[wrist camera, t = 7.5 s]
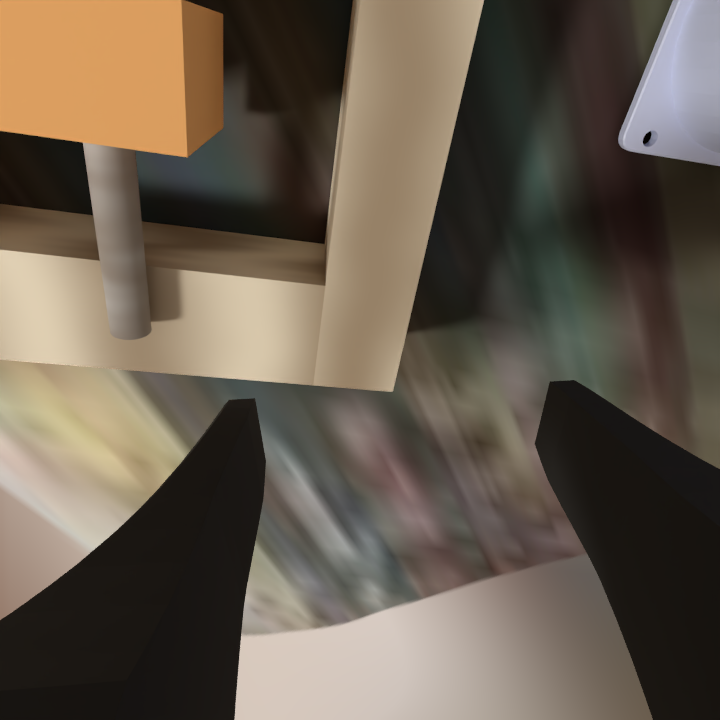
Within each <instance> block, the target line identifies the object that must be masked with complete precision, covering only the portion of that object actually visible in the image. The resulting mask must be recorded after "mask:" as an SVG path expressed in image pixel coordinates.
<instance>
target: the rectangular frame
mask: <svg viewBox="0 0 720 720" xmlns="http://www.w3.org/2000/svg"><path fill="white" fill-rule="evenodd" d="M483 3H484V0H353V3H352V11H351V20H350V29H349V37H348V46H347V55H346V63H345V72H344V80H343V89H342V98H341V106H340V115H339V124H338V132H337V141H336V150H335V158H334V167H333V175H332V184H331V193H330V201H329V210H328V219H327V227H326V236H325V244H321V243H313V242H305V241H297V240H289V239H281V238H272V237H264V236H256V235H248V234H240V233H232V232H224V231H216V230H208V229H200V228H192V227H183V226H175V225H167V224H159V223H151V222H143V221H142V219H141V208H140V197H139V186H138V175H137V164H136V153H135V150H132V149H125V148H118V147H111V146H104V145H97V144H90V143H83V148H84V154H85V161H86V168H87V175H88V182H89V189H90V196H91V203H92V210H93V215H86V214H78V213H70V212H62V211H54V210H46V209H38V208H30V207H22V206H14V205H6V204H0V360H11V361H24V362H36V363H48V364H60V365H72V366H85V367H97V368H109V369H121V370H133V371H145V372H158V373H170V374H182V375H194V376H206V377H218V378H231V379H243V380H255V381H267V382H279V383H292V384H304V385H316V386H328V387H340V388H352V389H365V390H377V391H389V392H393V388H394V384H395V380H396V375H397V371H398V367H399V363H400V358H401V354H402V350H403V345H404V341H405V337H406V333H407V328H408V324H409V320H410V315H411V311H412V307H413V303H414V298H415V294H416V290H417V285H418V281H419V277H420V273H421V268H422V264H423V260H424V256H425V251H426V247H427V243H428V238H429V234H430V230H431V226H432V221H433V217H434V213H435V208H436V204H437V200H438V196H439V191H440V187H441V183H442V178H443V174H444V170H445V166H446V161H447V157H448V153H449V148H450V144H451V140H452V136H453V131H454V127H455V123H456V118H457V114H458V110H459V106H460V101H461V97H462V93H463V88H464V84H465V80H466V76H467V71H468V67H469V63H470V58H471V54H472V50H473V46H474V41H475V37H476V33H477V28H478V24H479V20H480V16H481V11H482V7H483Z"/></svg>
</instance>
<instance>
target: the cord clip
mask: <svg viewBox="0 0 720 720" xmlns="http://www.w3.org/2000/svg"><path fill="white" fill-rule="evenodd" d="M222 128H223V14H222V13H219V12H216V11H213V10H210V9H208V8H205V7H202V6H199V5H196V4H194V3H191V2H188V1H185V0H0V131H5V132H12V133H19V134H27V135H34V136H41V137H48V138H55V139H62V140H69V141H76V142H83V143H90V144H97V145H104V146H111V147H118V148H125V149H132V150H139V151H146V152H153V153H160V154H167V155H174V156H181V157H188V156H190V155H191V154H192V153H193V152H194V151H196V150H197V149H198V148H199V147H201V146H202V145H203V144H204V143H205V142H207V141H208V140H209V139H210V138H211V137H213V136H214V135H215V134H216V133H218V132H219V131H220V130H221V129H222Z"/></svg>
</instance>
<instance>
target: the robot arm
mask: <svg viewBox="0 0 720 720" xmlns="http://www.w3.org/2000/svg"><path fill="white" fill-rule="evenodd" d="M649 131H651V139H650V140H649V141H648V142H647V143H646V144H643V138H644V136H645V135H646V133H648V132H649ZM618 141H619V145H620V146H621V148H623V149H625V150H628V151H631V152H637V153H643V154H649V155H655V156H661V157H667V158H673V159H679V160H685V161H691V162H697V163H704V164H710V165H716V166H720V0H673V2H672V4H671V7H670V9H669V12H668V14H667V16H666V19H665V21H664V24H663V26H662V29H661V31H660V34H659V36H658V39H657V41H656V44H655V46H654V49H653V51H652V54H651V56H650V59H649V61H648V64H647V66H646V69H645V71H644V74H643V76H642V79H641V81H640V84H639V86H638V89H637V91H636V93H635V96H634V98H633V101H632V103H631V106H630V108H629V111H628V113H627V116H626V118H625V121H624V123H623V126H622V128H621V131H620V133H619V138H618ZM535 446H536V448H537V451H538V454H539V457H540V460H541V463H542V466H543V468H544V471H545V473H546V476H547V478H548V481H549V483H550V485H551V487H552V489H553V491H554V492H555V494H556V496H557V498H558V500H559V502H560V504H561V506H562V508H563V510H564V511H565V513H566V515H567V517H568V519H569V521H570V523H571V524H572V526H573V528H574V530H575V532H576V534H577V536H578V537H579V539H580V541H581V543H582V545H583V547H584V549H585V550H586V552H587V554H588V556H589V558H590V560H591V562H592V564H593V566H594V568H595V570H596V572H597V574H598V576H599V578H600V580H601V583H602V585H603V587H604V590H605V593H606V595H607V597H608V600H609V602H610V604H611V607H612V609H613V612H614V614H615V617H616V619H617V622H618V624H619V627H620V630H621V632H622V635H623V637H624V640H625V643H626V645H627V648H628V650H629V653H630V655H631V658H632V661H633V664H634V666H635V669H636V672H637V675H638V678H639V681H640V684H641V686H642V689H643V692H644V695H645V697H646V701H647V703H648V706H649V709H650V712H651V715H652V718H653V720H720V469H718V468H716V467H714V466H713V465H711V464H709V463H707V462H705V461H703V460H702V459H700V458H698V457H696V456H695V455H693V454H691V453H689V452H688V451H686V450H684V449H683V448H681V447H679V446H677V445H676V444H674V443H672V442H671V441H669V440H667V439H666V438H664V437H662V436H661V435H659V434H658V433H656V432H654V431H653V430H651V429H650V428H648V427H646V426H645V425H643V424H642V423H640V422H639V421H637V420H636V419H634V418H632V417H631V416H629V415H628V414H626V413H625V412H623V411H622V410H620V409H619V408H617V407H616V406H614V405H613V404H611V403H610V402H608V401H607V400H605V399H604V398H602V397H601V396H599V395H597V394H596V393H594V392H593V391H591V390H590V389H588V388H586V387H585V386H583V385H582V384H580V383H578V382H576V381H574V380H571V381H554V382H550V383H549V388H548V392H547V396H546V400H545V404H544V408H543V412H542V416H541V421H540V425H539V429H538V433H537V437H536V441H535ZM265 466H266V459H265V453H264V448H263V442H262V436H261V430H260V425H259V419H258V413H257V407H256V402H255V399H237V400H229V401H228V402H227V403H226V404H225V405H224V407H223V408H222V409H221V411H220V412H219V414H218V415H217V416H216V418H215V419H214V421H213V422H212V423H211V425H210V426H209V428H208V429H207V430H206V432H205V433H204V434H203V436H202V437H201V438H200V440H199V441H198V442H197V443H196V445H195V446H194V447H193V448H192V450H191V451H190V452H189V454H188V455H187V456H186V457H185V459H184V460H183V461H182V462H181V464H180V465H179V466H178V467H177V468H176V469H175V471H174V472H173V473H172V474H171V475H170V476H169V477H168V478H167V480H166V481H165V482H164V483H163V484H162V485H161V486H160V488H159V489H158V490H157V491H156V492H155V493H154V494H153V495H152V496H151V497H150V498H149V499H148V500H147V501H146V503H145V504H144V505H143V506H142V507H141V508H140V509H139V510H138V511H137V512H136V513H135V514H134V515H133V516H131V517H130V518H129V519H128V520H127V521H126V522H125V523H124V524H123V525H122V526H121V527H120V528H119V529H118V530H117V531H116V532H114V533H113V534H112V535H111V536H110V537H109V538H108V539H106V540H105V541H104V542H103V543H102V544H101V545H99V546H98V547H97V548H96V549H95V550H93V551H92V552H91V553H90V554H89V555H88V556H86V557H85V558H84V559H83V560H82V561H81V562H79V563H78V564H77V565H76V566H74V567H73V568H72V569H70V570H69V571H68V572H67V573H65V574H64V575H63V576H61V577H60V578H59V579H58V580H56V581H55V582H53V583H52V584H51V585H50V586H48V587H47V588H45V589H44V590H43V591H41V592H40V593H39V594H37V595H36V596H34V597H33V598H32V599H30V600H29V601H28V602H26V603H25V604H24V605H22V606H20V607H19V608H18V609H16V610H15V611H13V612H12V613H10V614H9V615H7V616H6V617H4V618H3V619H1V620H0V720H234V716H235V702H236V689H237V676H238V664H239V651H240V640H241V630H242V620H243V609H244V601H245V594H246V588H247V582H248V577H249V572H250V567H251V561H252V556H253V551H254V546H255V540H256V535H257V530H258V525H259V519H260V514H261V509H262V503H263V495H264V482H265Z"/></svg>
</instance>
